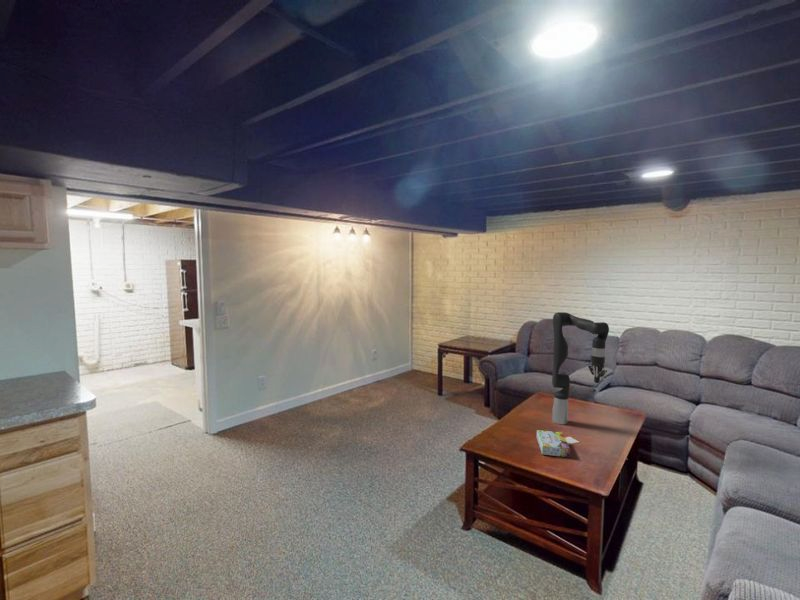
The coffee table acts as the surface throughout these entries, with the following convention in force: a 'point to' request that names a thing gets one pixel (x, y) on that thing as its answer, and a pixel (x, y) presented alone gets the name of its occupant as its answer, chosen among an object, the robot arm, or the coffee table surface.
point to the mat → (571, 440)
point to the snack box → (553, 443)
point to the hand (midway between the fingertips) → (596, 382)
